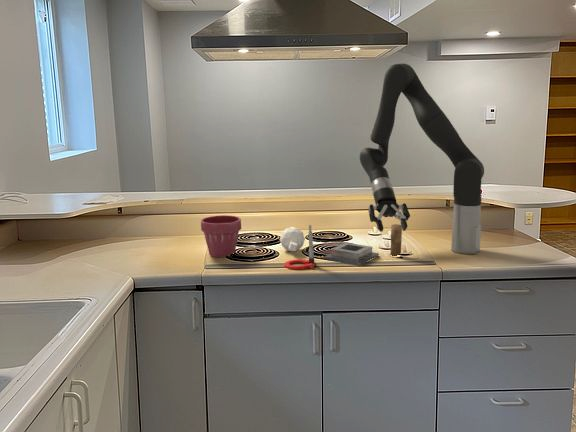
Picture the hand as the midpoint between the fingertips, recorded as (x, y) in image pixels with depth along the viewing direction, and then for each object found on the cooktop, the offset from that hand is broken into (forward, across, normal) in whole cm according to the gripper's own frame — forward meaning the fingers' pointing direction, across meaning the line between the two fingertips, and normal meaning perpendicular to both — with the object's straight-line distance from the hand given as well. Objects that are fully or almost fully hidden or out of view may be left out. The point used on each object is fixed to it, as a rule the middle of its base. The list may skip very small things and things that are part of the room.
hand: (393, 230), depth 199 cm
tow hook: (+12, -35, +2) cm, 37 cm away
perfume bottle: (-1, -35, +14) cm, 37 cm away
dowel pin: (+8, 0, +4) cm, 9 cm away
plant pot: (-2, -59, +16) cm, 61 cm away
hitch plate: (+7, -16, +5) cm, 18 cm away
